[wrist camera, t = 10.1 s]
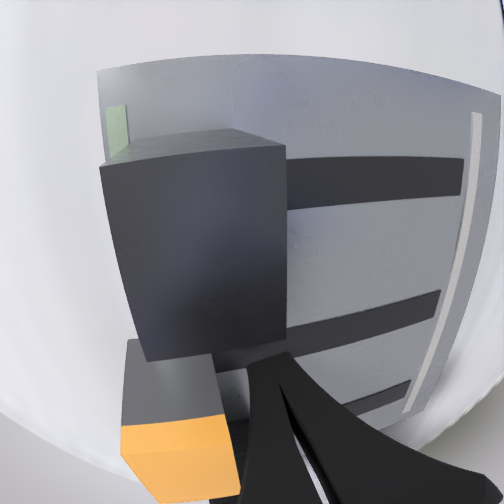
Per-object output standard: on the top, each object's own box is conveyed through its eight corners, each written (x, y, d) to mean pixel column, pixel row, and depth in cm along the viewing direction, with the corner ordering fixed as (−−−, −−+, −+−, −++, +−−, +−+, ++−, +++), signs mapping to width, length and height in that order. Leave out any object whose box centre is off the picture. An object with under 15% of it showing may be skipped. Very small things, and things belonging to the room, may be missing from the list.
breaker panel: (479, 92, 10) (581, 112, 5) (413, 398, 18) (455, 453, 13) (106, 75, 7) (31, 40, 3) (194, 460, 15) (210, 541, 10)
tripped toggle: (206, 328, 9) (231, 442, 6) (218, 396, 11) (242, 493, 7) (127, 339, 9) (120, 454, 5) (152, 405, 10) (159, 504, 7)
